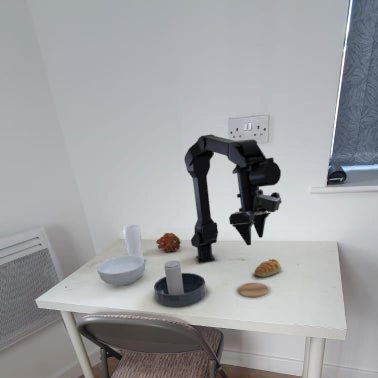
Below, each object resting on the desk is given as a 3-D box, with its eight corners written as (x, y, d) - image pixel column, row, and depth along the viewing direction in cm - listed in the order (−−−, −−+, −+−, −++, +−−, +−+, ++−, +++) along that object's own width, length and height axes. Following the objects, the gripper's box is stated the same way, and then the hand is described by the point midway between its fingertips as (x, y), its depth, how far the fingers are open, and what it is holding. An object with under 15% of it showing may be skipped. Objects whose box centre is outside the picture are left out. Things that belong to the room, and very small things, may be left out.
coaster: (235, 286, 106) (235, 285, 106) (261, 282, 107) (261, 281, 107) (243, 299, 98) (243, 298, 98) (272, 294, 99) (272, 293, 99)
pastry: (264, 280, 108) (264, 269, 106) (249, 274, 113) (249, 264, 111) (282, 270, 113) (283, 260, 111) (267, 266, 117) (267, 256, 116)
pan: (154, 287, 112) (152, 277, 110) (200, 280, 113) (199, 269, 111) (157, 311, 97) (155, 299, 95) (210, 302, 99) (209, 290, 97)
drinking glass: (126, 265, 133) (118, 229, 126) (134, 258, 138) (127, 223, 131) (140, 266, 130) (133, 229, 123) (148, 259, 136) (142, 224, 128)
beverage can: (186, 295, 103) (182, 260, 97) (181, 303, 99) (176, 267, 94) (172, 294, 105) (167, 260, 99) (167, 302, 101) (161, 266, 95)
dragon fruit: (182, 256, 139) (160, 257, 146) (187, 239, 142) (165, 241, 149) (171, 244, 133) (149, 246, 139) (177, 227, 136) (155, 230, 142)
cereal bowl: (92, 289, 116) (86, 271, 112) (117, 270, 129) (113, 253, 125) (133, 293, 109) (128, 274, 106) (155, 273, 123) (152, 255, 119)
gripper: (263, 188, 83) (269, 248, 88) (286, 179, 96) (290, 232, 102) (224, 194, 89) (232, 250, 95) (251, 185, 103) (257, 234, 108)
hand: (255, 241), depth 100 cm, fingers open, 9 cm apart
